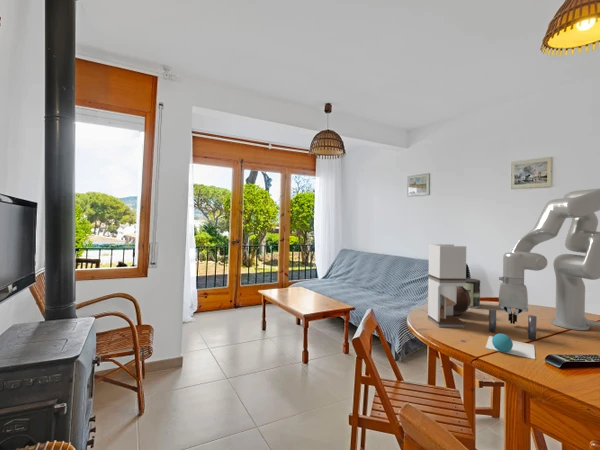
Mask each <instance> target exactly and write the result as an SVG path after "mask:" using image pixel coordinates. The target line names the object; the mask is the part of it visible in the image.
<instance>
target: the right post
mask: <svg viewBox="0 0 600 450" xmlns="http://www.w3.org/2000/svg"><path fill="white" fill-rule="evenodd" d="M527 318H528V321H527V323H528V325H527V326H528V327H527V339H528V340H530V341H537V322H538V321H537V320H538V319H537V316H535V315H533V314H531V315H530V314H528V316H527Z"/></svg>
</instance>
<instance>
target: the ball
mask: <svg viewBox="0 0 600 450" xmlns="http://www.w3.org/2000/svg"><path fill="white" fill-rule="evenodd" d="M512 341H513V340H512V339H511V337H510V336H509V335H507V334H505V333H497V334H495V335H494V336H493V339H492V343H493V345H494V347H495V348H496V349H497V350H499V351H498V352H500V351H502V353H505V352H507V351H510V350H511V349H512V347H513V343H512Z"/></svg>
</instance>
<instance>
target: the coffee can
mask: <svg viewBox="0 0 600 450" xmlns="http://www.w3.org/2000/svg"><path fill="white" fill-rule="evenodd" d="M462 287H464V288H465V289H466V290H467V291H468V293H469V295H470V298H471V304H470V307H469V308H468V309H479V308H481V280H480V279H477V278H471V277H470V278H468V277H466V286H462Z"/></svg>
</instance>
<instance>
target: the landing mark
mask: <svg viewBox="0 0 600 450" xmlns="http://www.w3.org/2000/svg"><path fill="white" fill-rule="evenodd" d="M493 337H494V336H492V335H489V336H488V338H487V342H486V344H485V349H488V350H492V351H496V352H502V351H499V350H497V349H496V348H495V347H494V345H493V343H492V339H493ZM512 343H513V347H512V349H511V350H510V351H507V352H504V353H506V354H510V355H514V356H518V357H524V358H528V359H532V360H536V354H535V353H536V351H535V344H530V343H526V342H521V341H516V340H512ZM502 353H503V352H502Z"/></svg>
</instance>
